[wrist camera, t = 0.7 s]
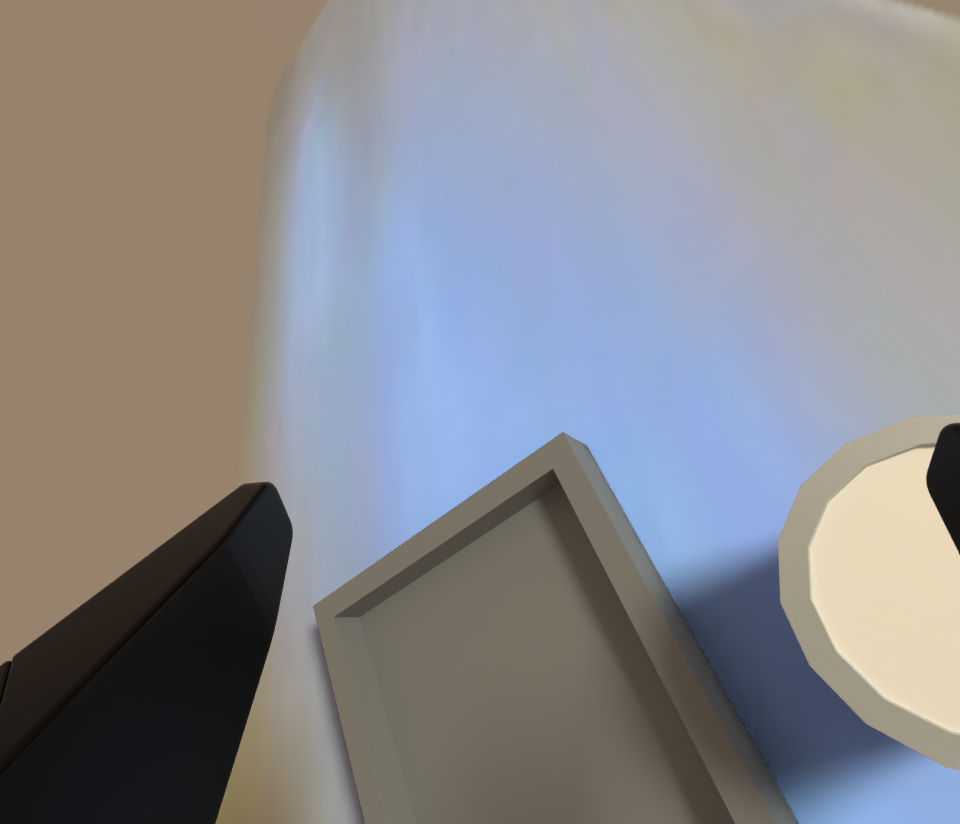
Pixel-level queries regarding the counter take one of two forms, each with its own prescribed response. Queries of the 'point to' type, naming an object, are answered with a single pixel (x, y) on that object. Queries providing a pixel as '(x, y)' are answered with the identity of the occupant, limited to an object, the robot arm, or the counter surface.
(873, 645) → the cream cup
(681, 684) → the tray
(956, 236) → the counter surface
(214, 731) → the robot arm
